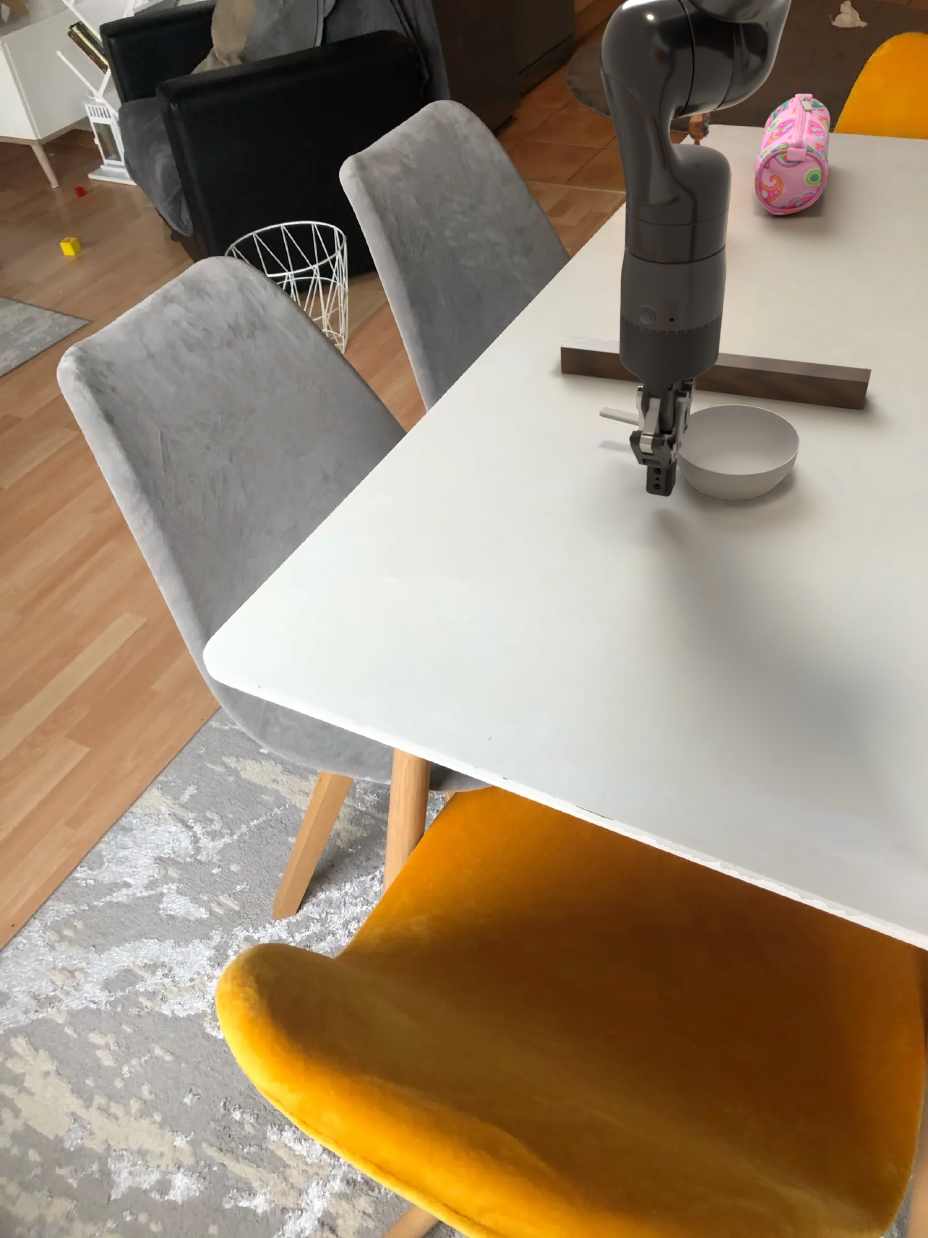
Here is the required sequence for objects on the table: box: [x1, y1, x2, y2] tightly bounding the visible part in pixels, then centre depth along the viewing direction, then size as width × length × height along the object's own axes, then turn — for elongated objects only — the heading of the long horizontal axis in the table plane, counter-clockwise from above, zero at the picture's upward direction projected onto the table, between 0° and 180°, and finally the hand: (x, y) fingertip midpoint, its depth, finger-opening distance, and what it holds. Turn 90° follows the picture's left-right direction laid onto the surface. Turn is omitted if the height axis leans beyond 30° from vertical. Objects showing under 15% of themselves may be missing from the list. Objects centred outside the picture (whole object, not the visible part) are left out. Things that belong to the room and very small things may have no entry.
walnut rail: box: [560, 335, 872, 411], centre depth 96 cm, size 30×2×3 cm, turn 68°
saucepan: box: [599, 403, 801, 501], centre depth 86 cm, size 11×18×4 cm, turn 63°
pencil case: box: [754, 93, 831, 216], centre depth 126 cm, size 21×9×9 cm, turn 163°
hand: (660, 489), depth 83 cm, fingers closed
